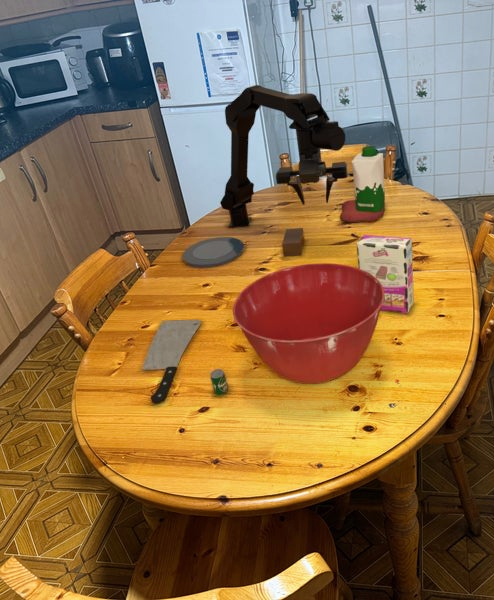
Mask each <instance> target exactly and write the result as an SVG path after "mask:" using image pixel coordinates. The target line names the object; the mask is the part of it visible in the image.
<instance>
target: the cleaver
mask: <svg viewBox="0 0 494 600" xmlns="http://www.w3.org/2000/svg"><path fill="white" fill-rule="evenodd" d="M201 326H202V322H201V321H200V320H199V319H177V320H164V321H161V323H160V325H159V327H158V329H157V331H156V333H155V334H154V337H153V338H152V341H151V344H150V346H149V348H148V350H147V353H146V356H145V358H144V362H143V365H142V367H141V370H142V371H152V370H153V371H155V370H165V371H164V374H163V376H162V379H161V381H160V384H159V386H158V388H157V389H156V391H155V392H154V393H153V394H152V395H151V396H150V400H151V402H152V403H153V404H161V403H163V402H164V401H165V400H166V398H167V395H168V394H169V390H170V387H171V385H172V382H173V380H174V377H175V375H176V373H177V369H178V366H179V363H180V361H181V359H182V356H183V355H184V353H185V351H186V349H187V347H188V346H189V344H190V343H191V340H192V339H193V338H194V336H195V334H196V333H197V331H198V330H199V328H200V327H201Z"/></svg>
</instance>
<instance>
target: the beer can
mask: <svg viewBox="0 0 494 600" xmlns="http://www.w3.org/2000/svg"><path fill="white" fill-rule="evenodd" d="M209 377H210V382H211V386H212V389H213V392H214V394H215V395H217V396H223V395H226V394H227V393H228V391H229V384H228V381H227V377H226V374H225V371H224V370H223V369H221V368H217V369H213V370H212V371H211V372H210V374H209Z"/></svg>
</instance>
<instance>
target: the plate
mask: <svg viewBox="0 0 494 600" xmlns="http://www.w3.org/2000/svg"><path fill="white" fill-rule="evenodd" d="M244 251H245V244H244V242H243V241H242V240H240V239H239V238H236V237H230V236H219V237H212V238H206V239H203V240H201V241H198V242H196V243H193V244H192V245H190V246H189V247H187V248H186V249H185V250H184V251H183V253H182V260H183V262H184V264H186V265H187V266H189V267H193V268H198V269H199V268H200V269H201V268H203V269H204V268H205V269H206V268H215V267H219V266H222V265H226V264H229V263H231V262H233V261H234V260H236V259H238V258H240V257H241V256H242V255H243V253H244Z"/></svg>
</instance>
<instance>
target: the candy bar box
mask: <svg viewBox="0 0 494 600" xmlns="http://www.w3.org/2000/svg"><path fill="white" fill-rule="evenodd" d="M356 253H357V264H358V268H359V269H362V270H364V271H366V272H368V273H370V274H372V275H373V276H374V277H376V278H377V279H378V280H379V282H380V283H381V284H382V286H383V289H384V301H383V303H382V305H381V308H380V311H386V312H387V311H388V312H392V313H393V312H395V313H401V314H409V312H410V310H411V309H412V307H413V305H414V303H415V302H414V301H415V299H414V298H415V295H414V271H413V270H414V267H413V266H414V265H413V261H414V260H413V238H412V237H401V236H400V237H399V236H384V235H373V234H372V235H371V234H363V235H362V237H361V238H360V239H359V240H358V241H357V242H356Z"/></svg>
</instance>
